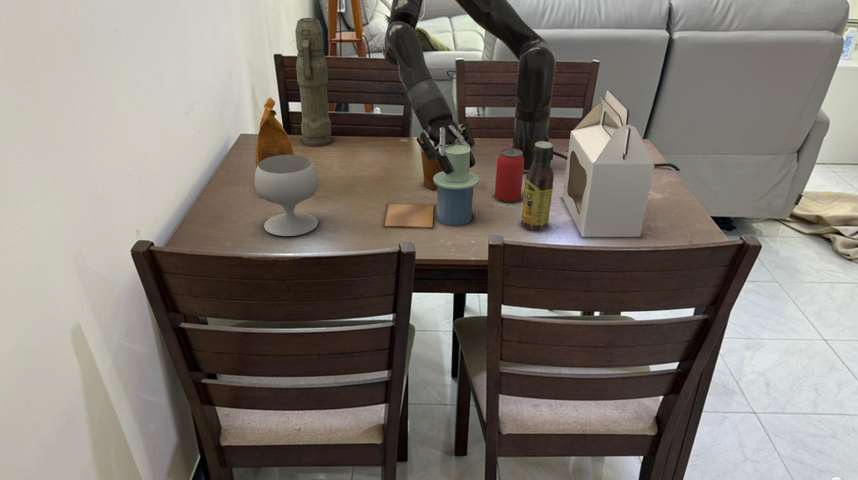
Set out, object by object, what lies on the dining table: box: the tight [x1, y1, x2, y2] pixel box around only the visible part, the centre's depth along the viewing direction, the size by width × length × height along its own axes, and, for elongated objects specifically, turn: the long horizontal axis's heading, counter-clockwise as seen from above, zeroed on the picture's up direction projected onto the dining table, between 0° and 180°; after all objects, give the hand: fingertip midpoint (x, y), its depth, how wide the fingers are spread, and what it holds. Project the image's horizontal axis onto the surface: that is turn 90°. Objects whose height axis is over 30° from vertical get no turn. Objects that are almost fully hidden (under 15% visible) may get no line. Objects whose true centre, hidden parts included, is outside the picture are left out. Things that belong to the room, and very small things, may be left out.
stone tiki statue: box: [294, 17, 332, 147], centre depth 195 cm, size 9×12×35 cm
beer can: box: [494, 147, 524, 203], centre depth 166 cm, size 7×7×12 cm
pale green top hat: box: [433, 144, 480, 190], centre depth 153 cm, size 10×10×10 cm
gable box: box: [562, 90, 656, 238], centre depth 153 cm, size 22×13×28 cm, turn 1°
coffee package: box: [254, 97, 295, 169], centre depth 168 cm, size 10×12×22 cm
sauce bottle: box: [520, 141, 555, 231], centre depth 150 cm, size 7×6×20 cm
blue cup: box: [436, 186, 474, 226], centre depth 157 cm, size 8×8×9 cm
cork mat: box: [384, 203, 435, 229], centre depth 159 cm, size 11×12×1 cm
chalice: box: [253, 154, 319, 237], centre depth 151 cm, size 14×14×15 cm
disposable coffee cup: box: [418, 139, 449, 190], centre depth 173 cm, size 10×10×12 cm
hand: (461, 169), depth 151 cm, fingers closed on pale green top hat, 6 cm apart
